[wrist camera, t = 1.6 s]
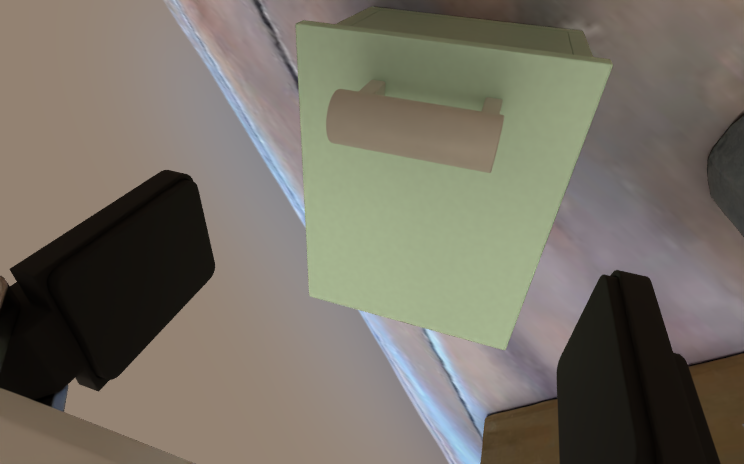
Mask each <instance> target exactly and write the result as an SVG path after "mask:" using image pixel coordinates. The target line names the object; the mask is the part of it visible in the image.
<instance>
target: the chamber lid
mask: <svg viewBox="0 0 744 464" xmlns="http://www.w3.org/2000/svg"><path fill="white" fill-rule="evenodd" d="M296 45H297V64H298V84H299V104H300V123H301V143H302V163H303V183H304V202H305V222H306V242H307V261H308V280H309V296H311V297H314V298H318V299H321V300H325V301H329V302H332V303H336V304H339V305H343V306H347V307H350V308H354V309H357V310H361V311H365V312H368V313H372V314H375V315H379V316H383V317H386V318H390V319H393V320H397V321H401V322H404V323H408V324H411V325H415V326H419V327H422V328H426V329H429V330H433V331H437V332H440V333H444V334H447V335H451V336H455V337H458V338H462V339H466V340H469V341H473V342H476V343H480V344H484V345H487V346H491V347H494V348H498V349H502V350H506V347H507V345H508V342H509V339H510V337H511V334H512V331H513V329H514V326H515V324H516V321H517V318H518V316H519V313H520V310H521V308H522V305H523V302H524V300H525V297H526V294H527V292H528V289H529V286H530V284H531V281H532V278H533V276H534V273H535V271H536V268H537V265H538V263H539V260H540V257H541V255H542V252H543V249H544V247H545V244H546V241H547V239H548V236H549V233H550V231H551V228H552V225H553V223H554V220H555V218H556V215H557V212H558V210H559V207H560V204H561V202H562V199H563V196H564V194H565V191H566V188H567V186H568V183H569V180H570V178H571V175H572V172H573V170H574V167H575V165H576V162H577V159H578V157H579V154H580V151H581V149H582V146H583V143H584V141H585V138H586V135H587V133H588V130H589V127H590V125H591V122H592V119H593V117H594V114H595V112H596V109H597V106H598V104H599V101H600V98H601V96H602V93H603V90H604V88H605V85H606V82H607V80H608V77H609V74H610V72H611V69H612V66H613V64H612V62H611V60H610V59H604V58H596V57H588V56H580V55H572V54H564V53H556V52H549V51H541V50H533V49H525V48H517V47H509V46H501V45H493V44H486V43H478V42H470V41H462V40H454V39H446V38H438V37H430V36H423V35H415V34H407V33H399V32H391V31H383V30H375V29H367V28H360V27H352V26H344V25H336V24H328V23H320V22H312V21H304V20H303V21H301V22H298V23H296Z"/></svg>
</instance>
